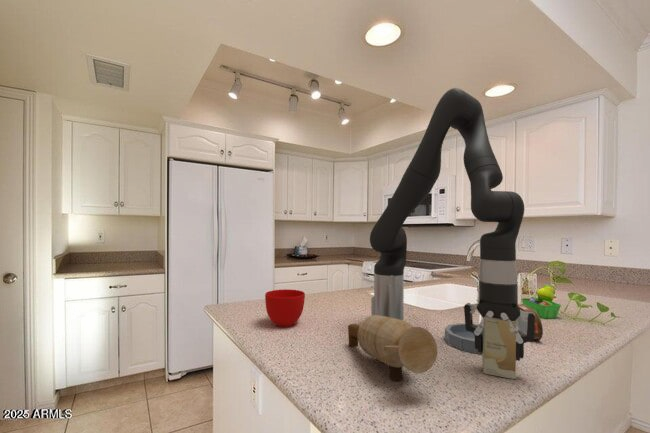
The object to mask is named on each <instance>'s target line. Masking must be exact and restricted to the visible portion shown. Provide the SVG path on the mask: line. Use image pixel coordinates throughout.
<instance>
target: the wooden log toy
mask: <svg viewBox="0 0 650 433" xmlns="http://www.w3.org/2000/svg"><path fill="white" fill-rule="evenodd" d="M347 331H348V332H347V334H348V346H349V347H357V346H359V347H360V348H361V349H362V351H363V352H364V353H366V355H368V356H371V357H372V358H374V362H375V363H376V362H382V363H384V364H386V365H388V378H389V379H391V380H392V381H399V380H401V381H402V380H404V377H403V376H404V375H403V367H404V368H405V369H407V371H409V372H410V373H411V372H412V373H413V374H422V373H426V372H428V371H429V370H430V369H431V368H433V366H434V364H435V363H436V360H437V357H438V346H437V341H436V339H435V338H434V335H432V332H430V331H429V330H427V328H424V327H421V326H414V327H413V326H412V325H411V324H410V323H409V322H407V321H406V320H404V319H403V320H400V319H395V318H390V317H385V316H380V315H369V316H367V317H365V318H364V319H363V320H362V321H361V323H360V324H356V323H350V324H348V325H347Z"/></svg>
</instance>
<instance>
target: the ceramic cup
mask: <svg viewBox="0 0 650 433" xmlns="http://www.w3.org/2000/svg"><path fill="white" fill-rule="evenodd" d="M305 294H306V293H305V291H303V290H298V289H287V288H285V289H273V290H269V291H267V292H265V293H264V299H265V302H264V303H265V308H266V314H267V316H268V318H269V319H270V321H271V322H272V323H273V325H274V326H276V327H279V328H289V327H292V326H295V325H296V323H297V322H298V320H299V319H300V317H302V314H303V310H304V307H305V297H306V296H305Z"/></svg>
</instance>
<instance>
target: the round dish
mask: <svg viewBox="0 0 650 433" xmlns="http://www.w3.org/2000/svg"><path fill="white" fill-rule="evenodd" d="M473 325H474V326H475V327H477V326H478V325H479V324H476V323H473ZM481 334H483V330H482V332H481ZM444 340H445V341H446V342H447V344H448V345H449V346H451V347H454V348H456V349H458V350H460V351H463V352H467V353H473V354H477V355H482V353H480V352H478V349H476V348H475V335H474V334H473V333H472V332H470V331H467V330H466V327H465V322H464V323H463V322H462V323H461V322H458V323H457V322H456V323H453V324H452V323H451V324H448V325H447V326H446V327H444Z"/></svg>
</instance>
